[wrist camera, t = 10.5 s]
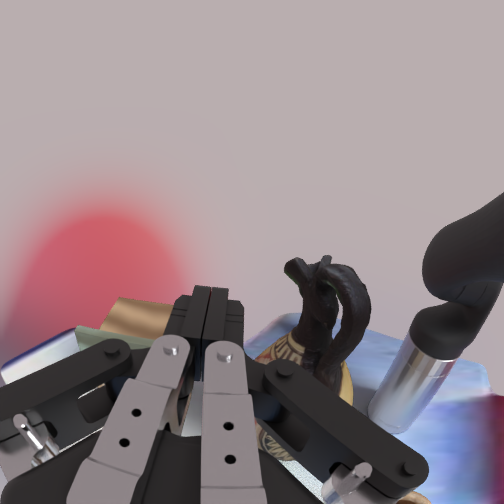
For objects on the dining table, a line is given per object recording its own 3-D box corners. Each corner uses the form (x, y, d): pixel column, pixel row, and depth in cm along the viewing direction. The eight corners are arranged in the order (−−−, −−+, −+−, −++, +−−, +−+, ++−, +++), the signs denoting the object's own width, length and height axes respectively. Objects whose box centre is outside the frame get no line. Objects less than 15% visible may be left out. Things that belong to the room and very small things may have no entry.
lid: (119, 302, 47) (116, 273, 45) (186, 311, 48) (186, 282, 45) (84, 362, 33) (74, 330, 31) (167, 379, 34) (164, 348, 31)
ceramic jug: (220, 404, 42) (236, 221, 30) (308, 390, 47) (359, 225, 35) (248, 497, 28) (307, 327, 16) (351, 467, 32) (462, 298, 20)
